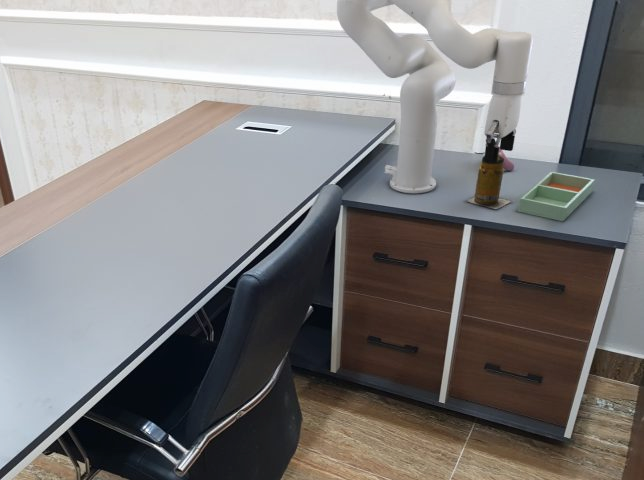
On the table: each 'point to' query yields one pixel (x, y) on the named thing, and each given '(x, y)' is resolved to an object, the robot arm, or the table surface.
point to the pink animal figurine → (506, 161)
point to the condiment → (489, 185)
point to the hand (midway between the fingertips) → (498, 155)
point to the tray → (556, 196)
